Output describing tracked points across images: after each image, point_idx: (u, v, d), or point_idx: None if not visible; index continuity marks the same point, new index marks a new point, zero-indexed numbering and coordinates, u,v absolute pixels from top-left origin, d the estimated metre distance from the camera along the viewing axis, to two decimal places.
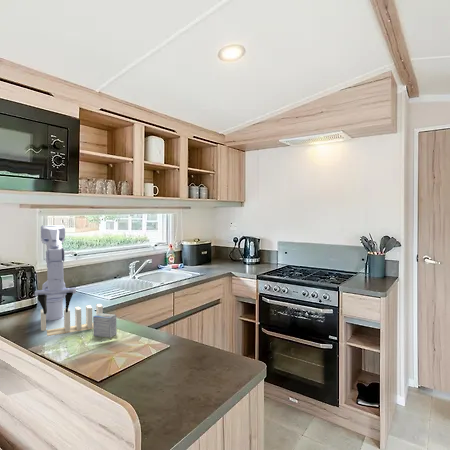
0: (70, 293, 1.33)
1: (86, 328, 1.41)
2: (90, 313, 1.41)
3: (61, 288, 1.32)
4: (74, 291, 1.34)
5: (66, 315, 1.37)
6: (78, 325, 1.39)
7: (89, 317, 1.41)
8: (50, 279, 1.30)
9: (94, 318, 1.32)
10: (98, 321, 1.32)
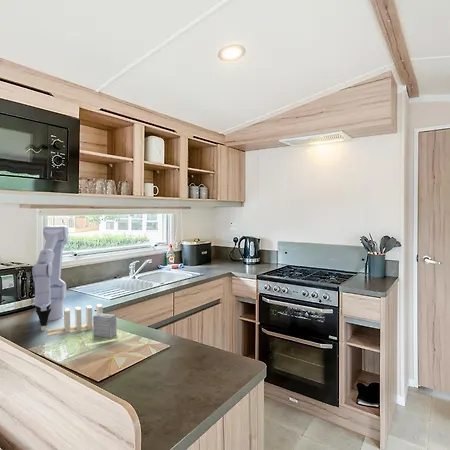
0: (41, 309, 1.35)
1: (86, 328, 1.41)
2: (90, 313, 1.41)
3: (38, 302, 1.37)
4: (41, 308, 1.34)
5: (66, 315, 1.37)
6: (78, 325, 1.39)
7: (89, 317, 1.41)
8: (36, 292, 1.38)
9: (94, 318, 1.32)
10: (98, 321, 1.32)
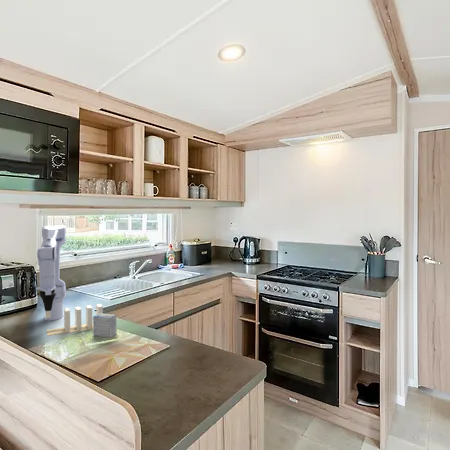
0: None
1: (86, 328, 1.41)
2: (90, 313, 1.41)
3: (43, 286, 1.34)
4: None
5: (66, 315, 1.37)
6: (78, 325, 1.39)
7: (89, 317, 1.41)
8: (41, 276, 1.34)
9: (94, 318, 1.32)
10: (98, 321, 1.32)
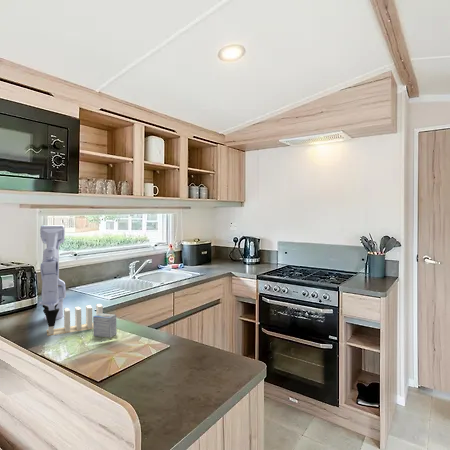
0: (49, 309, 1.31)
1: (86, 328, 1.41)
2: (90, 313, 1.41)
3: (46, 301, 1.33)
4: (48, 308, 1.29)
5: (66, 315, 1.37)
6: (78, 325, 1.39)
7: (89, 317, 1.41)
8: (44, 291, 1.33)
9: (94, 318, 1.32)
10: (98, 321, 1.32)
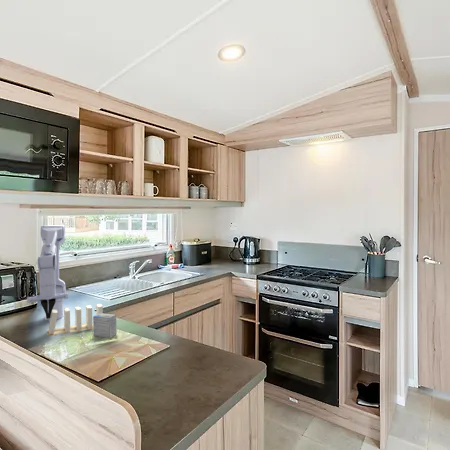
0: (62, 298, 1.37)
1: (86, 328, 1.41)
2: (90, 313, 1.41)
3: (54, 294, 1.35)
4: (66, 296, 1.38)
5: (66, 315, 1.37)
6: (78, 325, 1.39)
7: (89, 317, 1.41)
8: (41, 285, 1.33)
9: (94, 318, 1.32)
10: (98, 321, 1.32)
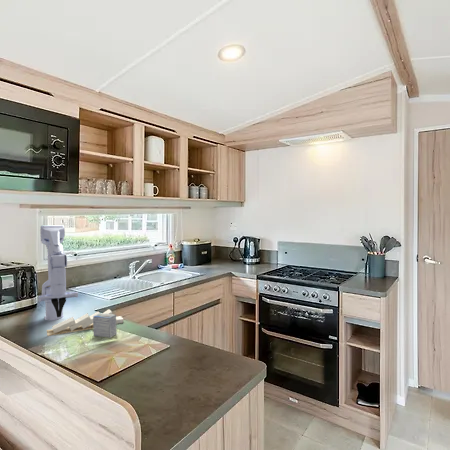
0: None
1: (86, 328, 1.41)
2: None
3: (64, 292, 1.37)
4: (76, 295, 1.40)
5: (85, 319, 1.40)
6: (86, 324, 1.41)
7: None
8: (53, 284, 1.34)
9: (94, 318, 1.32)
10: (98, 321, 1.32)
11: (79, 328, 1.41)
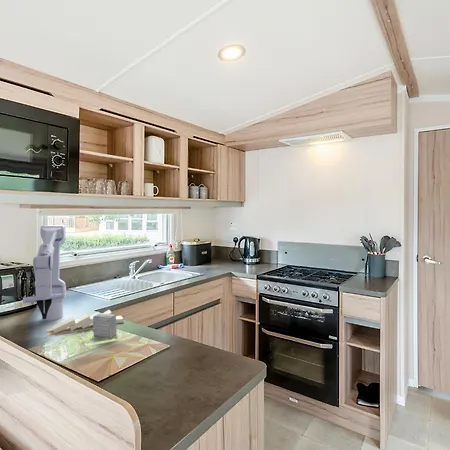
0: (59, 298, 1.37)
1: (86, 328, 1.41)
2: None
3: (50, 294, 1.34)
4: (63, 296, 1.37)
5: (85, 319, 1.40)
6: (85, 324, 1.41)
7: None
8: (37, 285, 1.32)
9: (94, 318, 1.32)
10: (98, 321, 1.32)
11: (79, 328, 1.41)
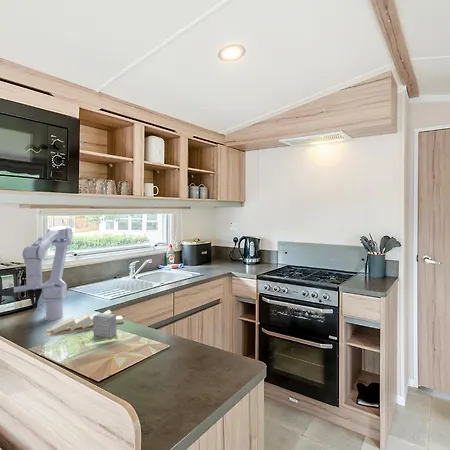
0: (49, 288, 1.40)
1: (86, 328, 1.41)
2: None
3: (40, 284, 1.38)
4: (53, 286, 1.41)
5: (85, 319, 1.40)
6: (85, 324, 1.41)
7: None
8: (26, 275, 1.36)
9: (94, 318, 1.32)
10: (98, 321, 1.32)
11: (79, 328, 1.41)
